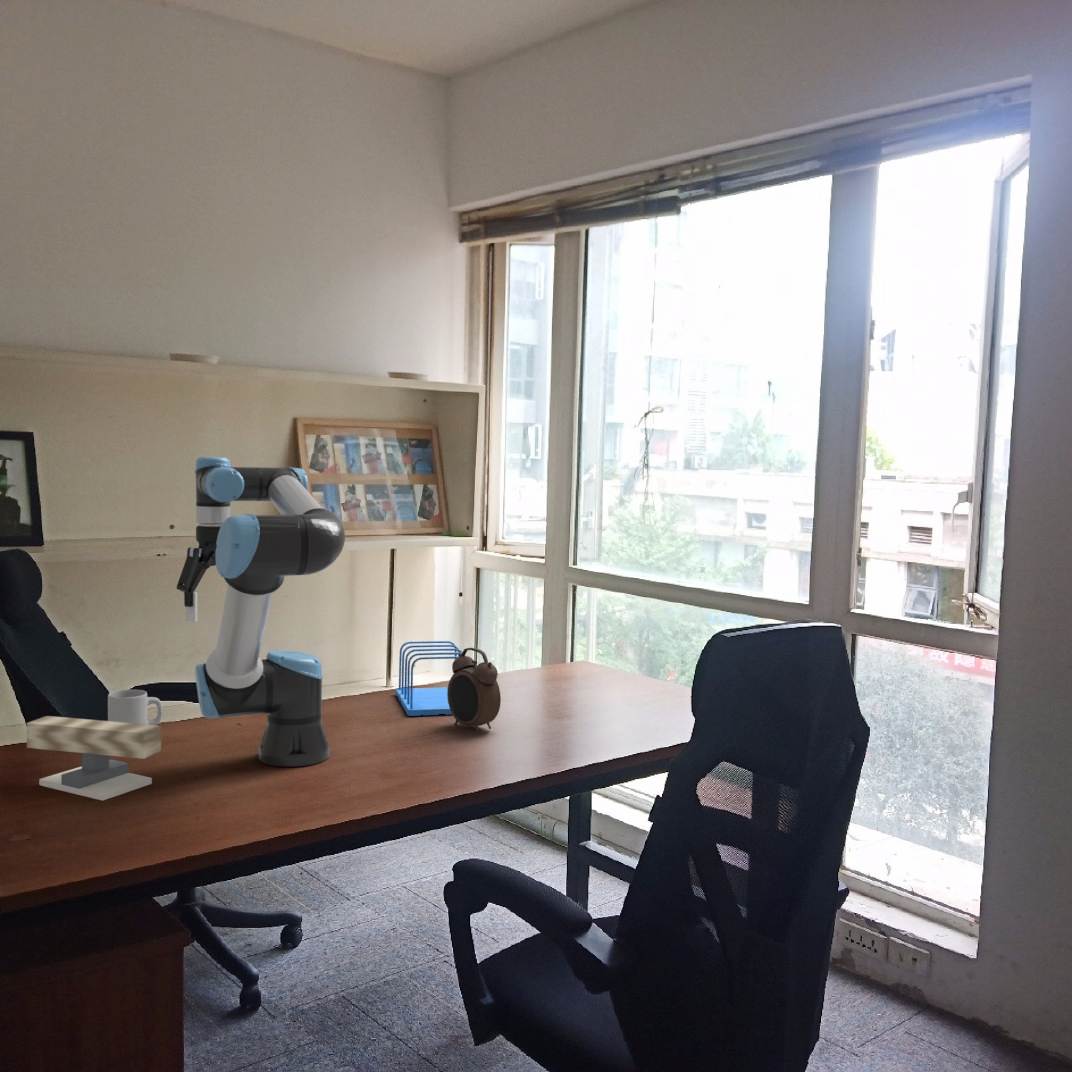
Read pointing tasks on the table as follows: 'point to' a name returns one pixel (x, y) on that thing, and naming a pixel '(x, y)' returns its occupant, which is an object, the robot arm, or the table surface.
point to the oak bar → (94, 737)
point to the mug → (132, 707)
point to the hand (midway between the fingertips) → (213, 617)
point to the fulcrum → (97, 778)
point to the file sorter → (423, 698)
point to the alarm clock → (473, 691)
